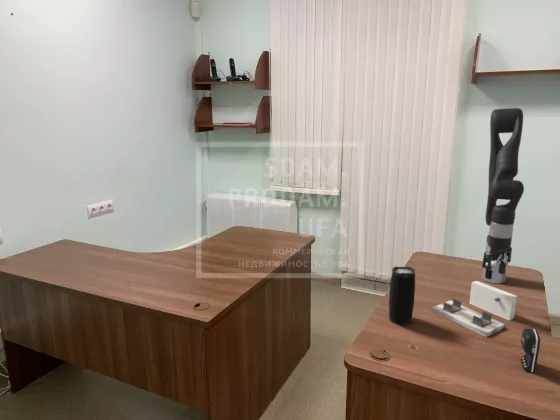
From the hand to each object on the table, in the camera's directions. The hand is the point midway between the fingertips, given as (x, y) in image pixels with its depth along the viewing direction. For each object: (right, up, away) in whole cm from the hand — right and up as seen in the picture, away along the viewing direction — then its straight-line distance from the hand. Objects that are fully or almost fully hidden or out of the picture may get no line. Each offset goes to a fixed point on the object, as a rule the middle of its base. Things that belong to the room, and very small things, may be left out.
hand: (494, 276), depth 160 cm
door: (0, -14, +4) cm, 14 cm away
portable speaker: (-36, -16, -3) cm, 39 cm away
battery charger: (-6, -23, -30) cm, 38 cm away
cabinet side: (-12, -15, -3) cm, 19 cm away
